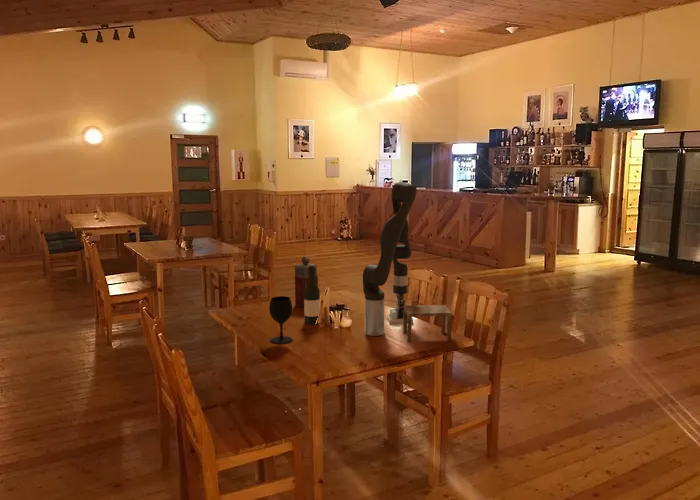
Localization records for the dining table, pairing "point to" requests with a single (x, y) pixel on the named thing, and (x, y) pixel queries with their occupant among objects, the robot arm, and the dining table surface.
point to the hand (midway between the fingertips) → (400, 316)
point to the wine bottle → (311, 298)
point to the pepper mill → (302, 280)
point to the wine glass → (281, 316)
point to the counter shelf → (427, 312)
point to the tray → (397, 321)
